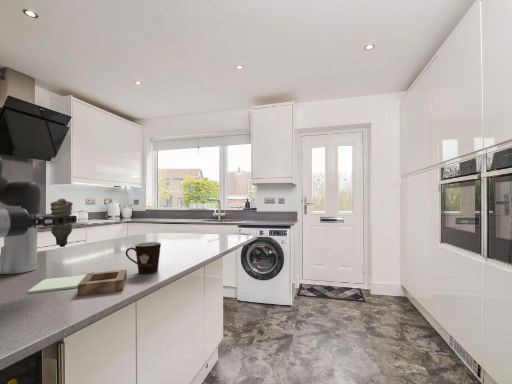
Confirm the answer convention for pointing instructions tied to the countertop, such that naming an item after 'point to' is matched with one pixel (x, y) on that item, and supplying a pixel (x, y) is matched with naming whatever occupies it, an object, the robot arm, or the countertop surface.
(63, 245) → the light bulb
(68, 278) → the mat
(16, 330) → the countertop surface
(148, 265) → the coffee mug
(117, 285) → the brown wooden square frame
